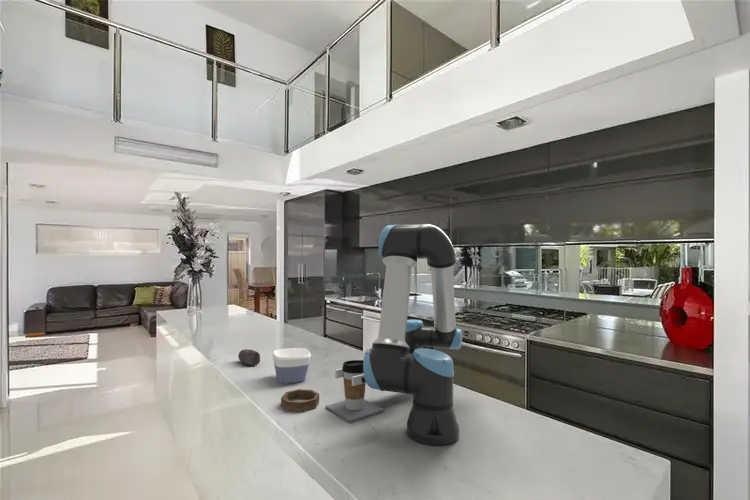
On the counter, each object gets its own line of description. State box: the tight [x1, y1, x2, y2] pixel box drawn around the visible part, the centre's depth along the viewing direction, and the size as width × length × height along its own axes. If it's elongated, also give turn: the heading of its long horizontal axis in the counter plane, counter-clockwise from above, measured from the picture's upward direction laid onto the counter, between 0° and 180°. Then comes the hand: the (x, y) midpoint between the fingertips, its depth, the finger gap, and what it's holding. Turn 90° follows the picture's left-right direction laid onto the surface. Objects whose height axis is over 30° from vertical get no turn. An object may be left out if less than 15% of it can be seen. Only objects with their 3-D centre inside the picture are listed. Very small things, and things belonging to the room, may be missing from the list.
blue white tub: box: [272, 347, 312, 385], centre depth 151 cm, size 15×15×11 cm
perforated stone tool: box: [238, 348, 261, 367], centre depth 172 cm, size 15×5×7 cm, turn 48°
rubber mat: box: [324, 398, 385, 424], centre depth 121 cm, size 14×14×1 cm
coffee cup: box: [341, 359, 367, 411], centre depth 122 cm, size 8×8×15 cm
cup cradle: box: [280, 388, 320, 413], centre depth 125 cm, size 12×12×3 cm
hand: (344, 377), depth 118 cm, fingers open, 9 cm apart
